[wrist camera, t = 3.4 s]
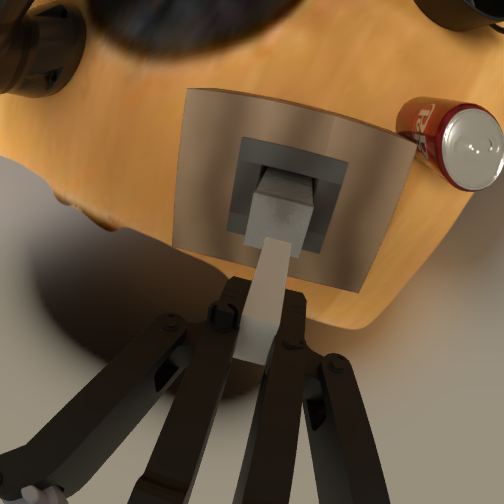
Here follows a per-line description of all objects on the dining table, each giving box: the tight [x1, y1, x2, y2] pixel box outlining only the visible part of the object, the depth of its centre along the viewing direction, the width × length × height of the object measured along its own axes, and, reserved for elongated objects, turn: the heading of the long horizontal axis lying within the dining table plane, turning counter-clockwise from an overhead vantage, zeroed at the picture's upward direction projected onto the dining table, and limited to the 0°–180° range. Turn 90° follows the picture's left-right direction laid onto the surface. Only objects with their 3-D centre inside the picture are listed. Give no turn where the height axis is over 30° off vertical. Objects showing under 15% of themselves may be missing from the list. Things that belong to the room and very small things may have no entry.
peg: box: [244, 166, 314, 258], centre depth 24 cm, size 4×4×8 cm
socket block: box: [172, 88, 417, 293], centre depth 29 cm, size 20×16×8 cm
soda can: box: [396, 97, 504, 192], centre depth 22 cm, size 7×7×12 cm
